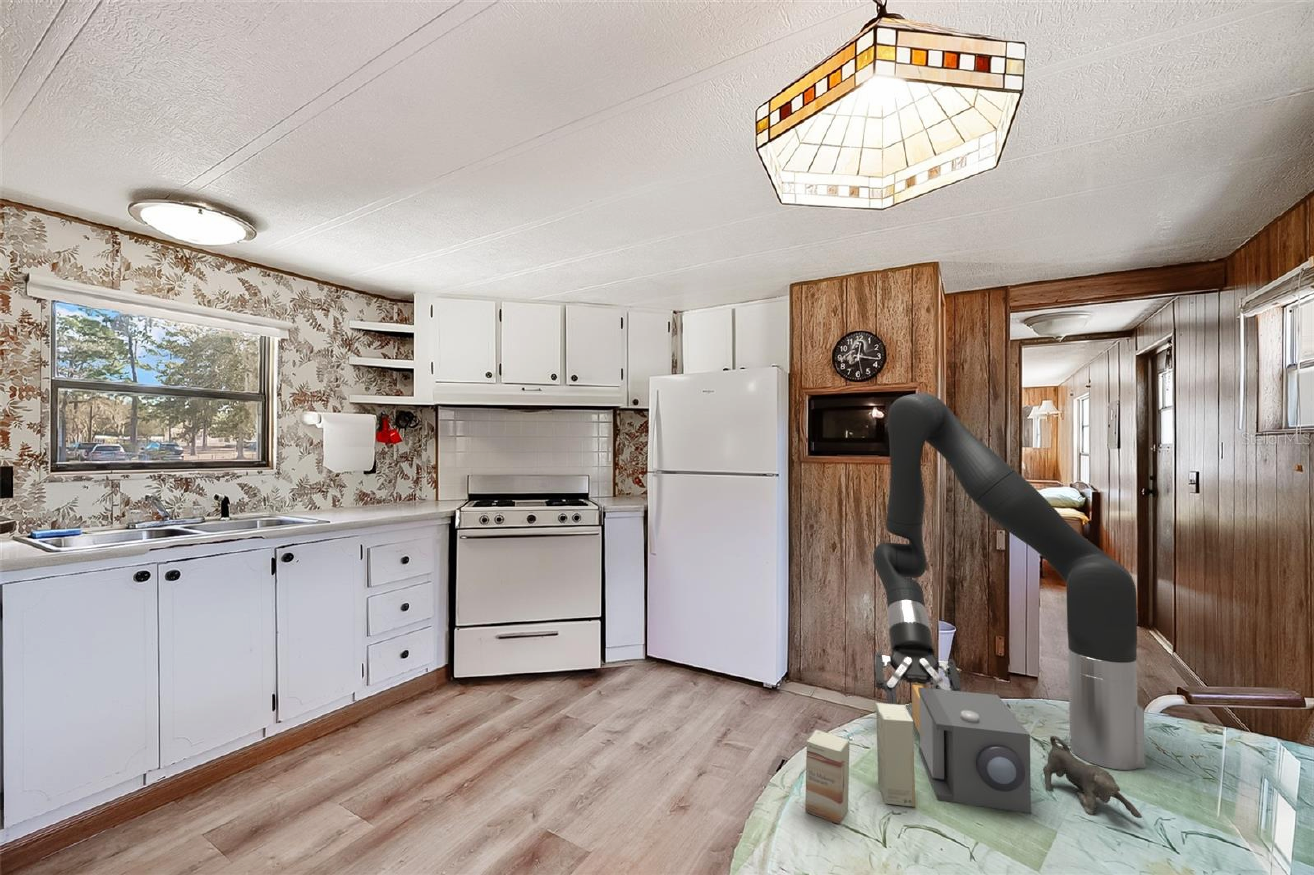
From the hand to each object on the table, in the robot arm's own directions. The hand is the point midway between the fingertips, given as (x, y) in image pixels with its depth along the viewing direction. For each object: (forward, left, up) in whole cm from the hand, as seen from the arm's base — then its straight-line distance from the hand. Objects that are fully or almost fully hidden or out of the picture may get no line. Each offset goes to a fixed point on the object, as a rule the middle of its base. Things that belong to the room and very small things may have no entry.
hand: (921, 715), depth 100 cm
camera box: (-5, +10, -5) cm, 13 cm away
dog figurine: (-20, +12, -6) cm, 24 cm away
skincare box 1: (+17, +24, -5) cm, 30 cm away
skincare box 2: (+7, +17, -5) cm, 19 cm away
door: (0, +4, -4) cm, 6 cm away
